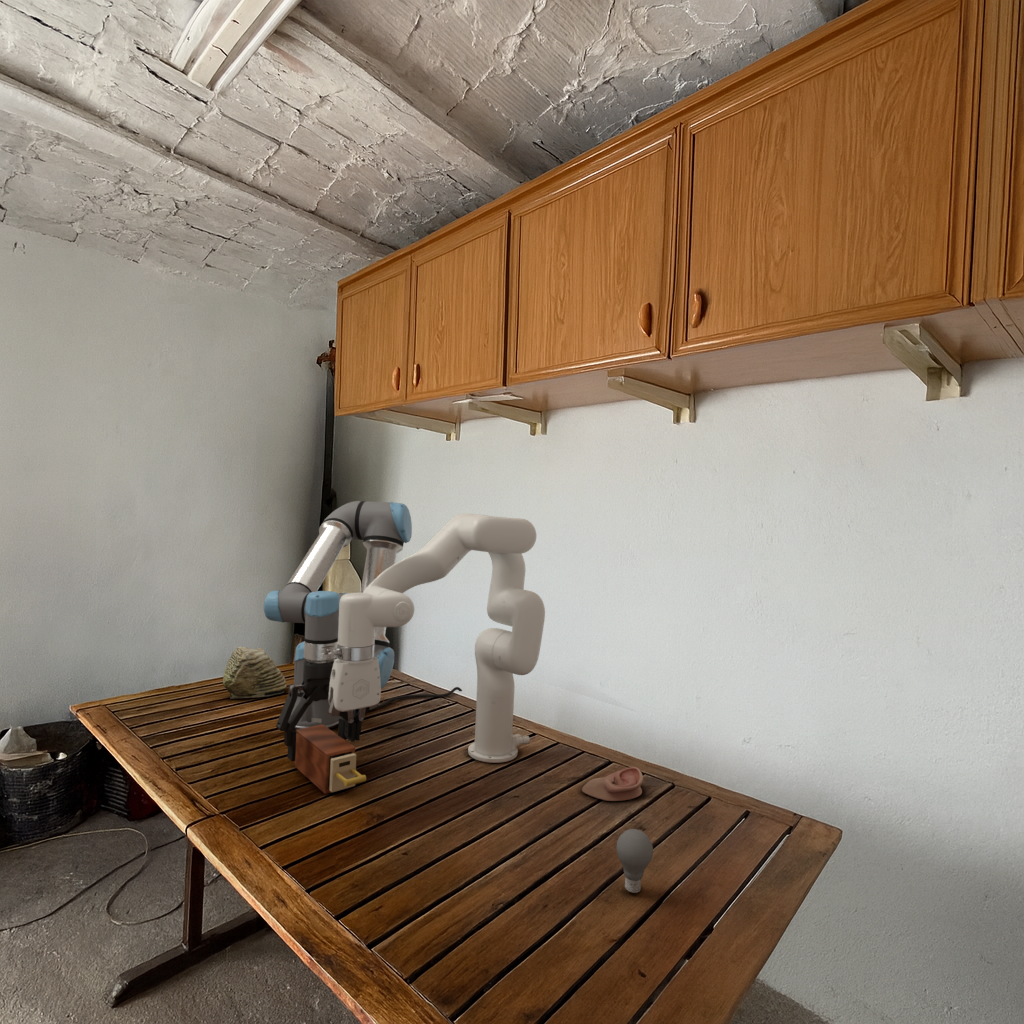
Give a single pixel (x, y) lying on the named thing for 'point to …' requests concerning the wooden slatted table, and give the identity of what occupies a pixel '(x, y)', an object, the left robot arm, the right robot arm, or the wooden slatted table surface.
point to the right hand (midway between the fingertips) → (352, 738)
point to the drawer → (343, 772)
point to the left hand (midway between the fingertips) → (317, 753)
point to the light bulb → (634, 857)
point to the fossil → (252, 674)
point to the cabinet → (318, 753)
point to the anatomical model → (616, 785)
